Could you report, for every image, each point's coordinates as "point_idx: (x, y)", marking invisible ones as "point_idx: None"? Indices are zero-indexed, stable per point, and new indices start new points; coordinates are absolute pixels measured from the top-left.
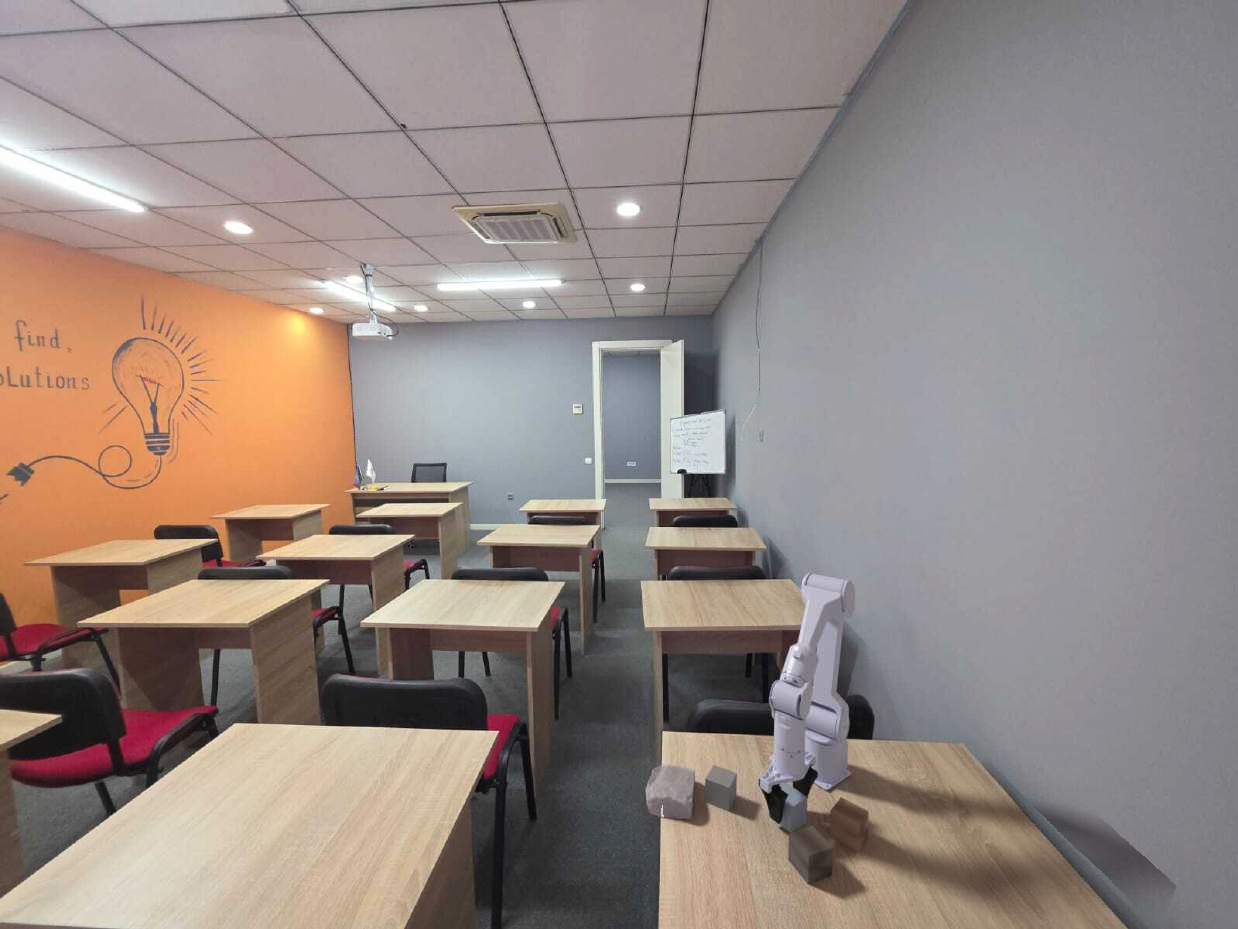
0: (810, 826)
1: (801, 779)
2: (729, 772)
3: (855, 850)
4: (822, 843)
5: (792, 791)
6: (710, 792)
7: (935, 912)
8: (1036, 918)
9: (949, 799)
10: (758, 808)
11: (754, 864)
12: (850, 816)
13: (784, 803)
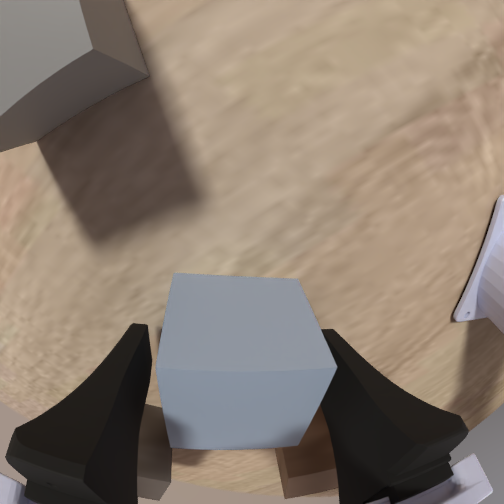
0: (162, 482)
1: (355, 456)
2: (53, 12)
3: None
4: (145, 494)
5: (284, 417)
6: None
7: (247, 490)
8: (324, 496)
9: (485, 401)
10: (173, 211)
11: (5, 342)
12: (305, 489)
13: (136, 460)
